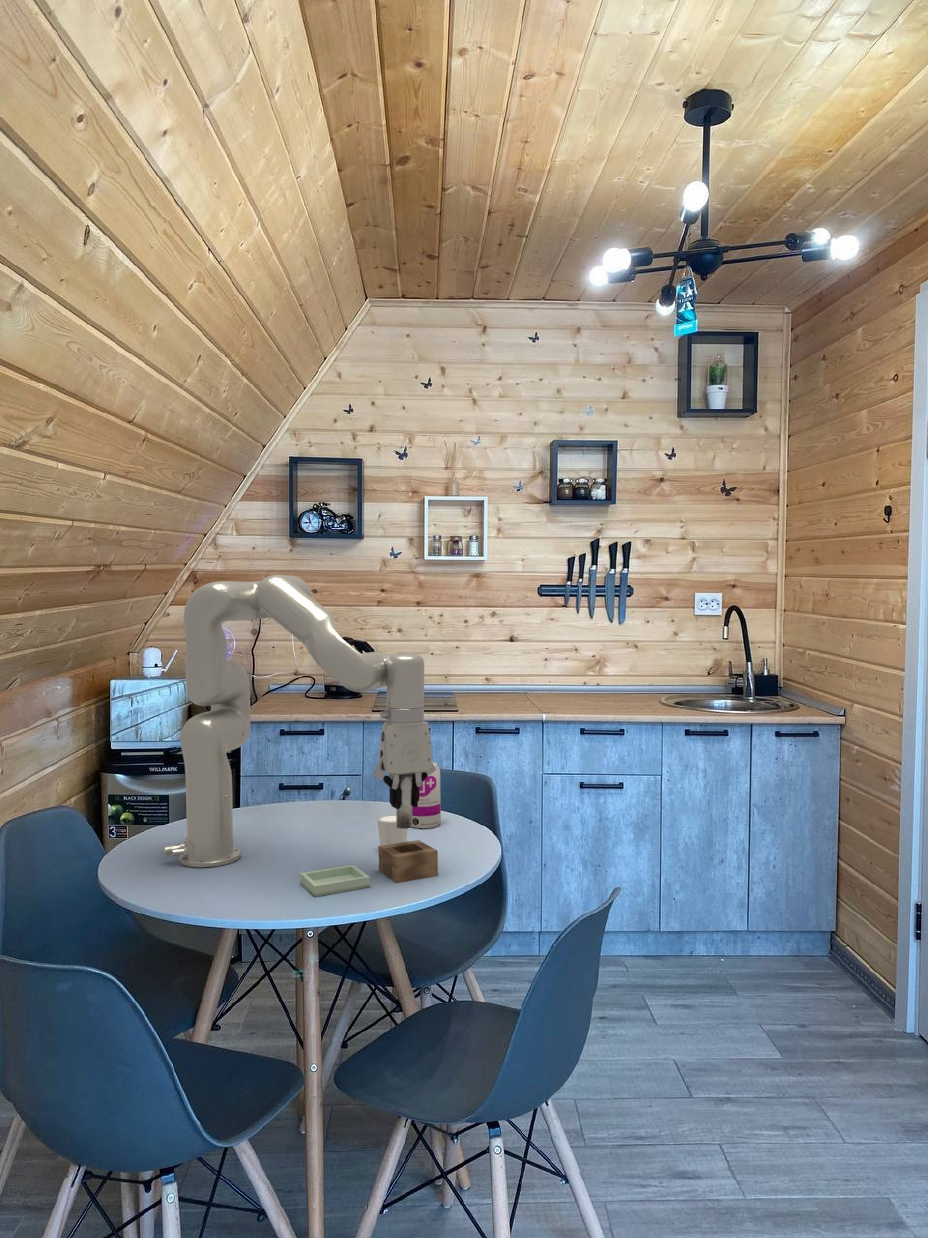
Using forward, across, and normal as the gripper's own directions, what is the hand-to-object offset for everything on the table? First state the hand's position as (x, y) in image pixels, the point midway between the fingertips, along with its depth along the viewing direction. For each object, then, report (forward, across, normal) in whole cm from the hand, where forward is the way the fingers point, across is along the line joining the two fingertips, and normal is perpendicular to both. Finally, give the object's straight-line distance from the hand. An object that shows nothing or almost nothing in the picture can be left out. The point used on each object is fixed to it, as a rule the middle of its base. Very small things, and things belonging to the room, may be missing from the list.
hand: (404, 805), depth 177 cm
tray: (+14, -15, -1) cm, 20 cm away
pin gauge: (+4, 0, 0) cm, 4 cm away
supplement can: (+14, +20, +32) cm, 40 cm away
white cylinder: (+14, +5, +16) cm, 22 cm away
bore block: (+14, +1, -1) cm, 14 cm away
